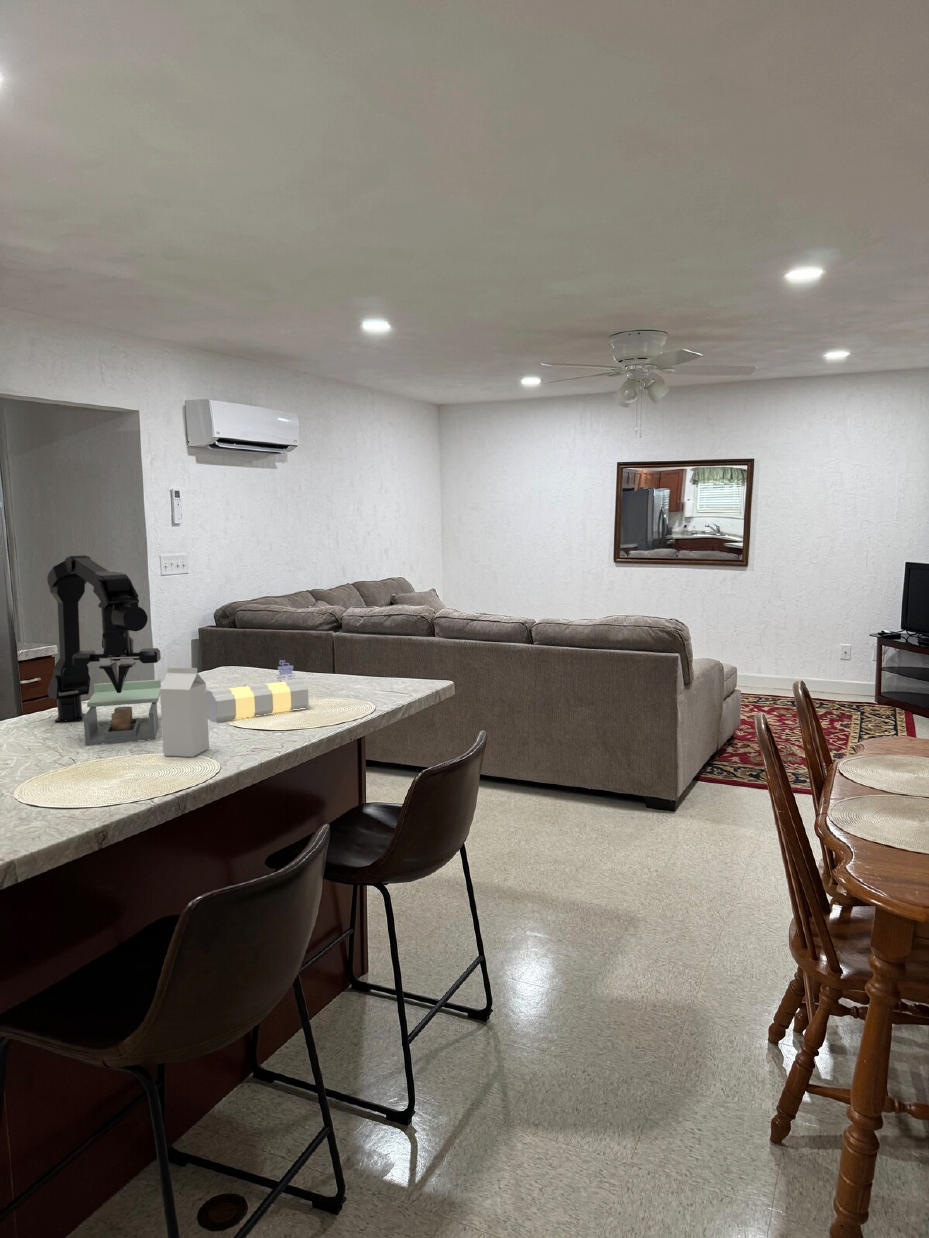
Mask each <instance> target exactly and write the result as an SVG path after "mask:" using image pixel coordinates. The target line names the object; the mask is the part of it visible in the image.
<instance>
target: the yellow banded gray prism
mask: <svg viewBox="0 0 929 1238" xmlns="http://www.w3.org/2000/svg"><path fill="white" fill-rule="evenodd" d="M278 663H279V664H278V665H280V666H277V670H278V671H279V674H277V675H276V676H277V679H278V680H277V682H271V683H263V682H259V683H258V682H257V683H253V684H245V685H244V686H239V687H232V688H231V687H230V688H228V687H219V688H211V689H206V695H207V714H208V720H211V721H212V722H214V723H216V722H217V723H222V722H229V721H235V720H234V719H237V720H243V719H242V718H244V719H247V718H246V717H251V716H256V715H264V714H268V713H274V712H283V711H289V710H293V709H300V708H307V709H308V707H309V688H308V686H307V684H305V682H304V680H302V679H300V678H295V676H296V675H295V672H294V673H293V671H294V670H293V669H294V665H290V663H289V662H286V660H285V659H284V660H282V659H281V660H279V662H278ZM293 674H294V675H293ZM285 678H286V679H285ZM264 716H265V715H264ZM251 718H252V717H251Z"/></svg>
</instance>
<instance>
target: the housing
mask: <svg viewBox="0 0 929 1238" xmlns="http://www.w3.org/2000/svg"><path fill="white" fill-rule="evenodd" d="M157 703H158V702H154V703H151V704H150V708H149V710H148V722H145V723H143V722H142V723H141V718H140V717H139V718H134V717H133V707H132V706H117V707H115V708H114V711H113V713H117V712H130V727H131V730H126V731H114V732H112V719H111V720H109V723H108V724H107V725H106V726H105V725H104V726H98V715H97V713H98V711H97V707H89V709H88V711H87V712H86V713H85V716H84V718H83V728H84V729H83V730H84V744H85V746H96V745H95V744H98V745H103V744H102V743H110V744H119V742H121V743H130V742H129V741H133V742H139V741H138V740H145V741H149V740H148V739H155V740H156V737H157V733H158V732H157V731H158V728H159V720H158V719H159V717H158V704H157ZM155 736H156V737H155ZM117 742H118V743H117Z"/></svg>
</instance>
